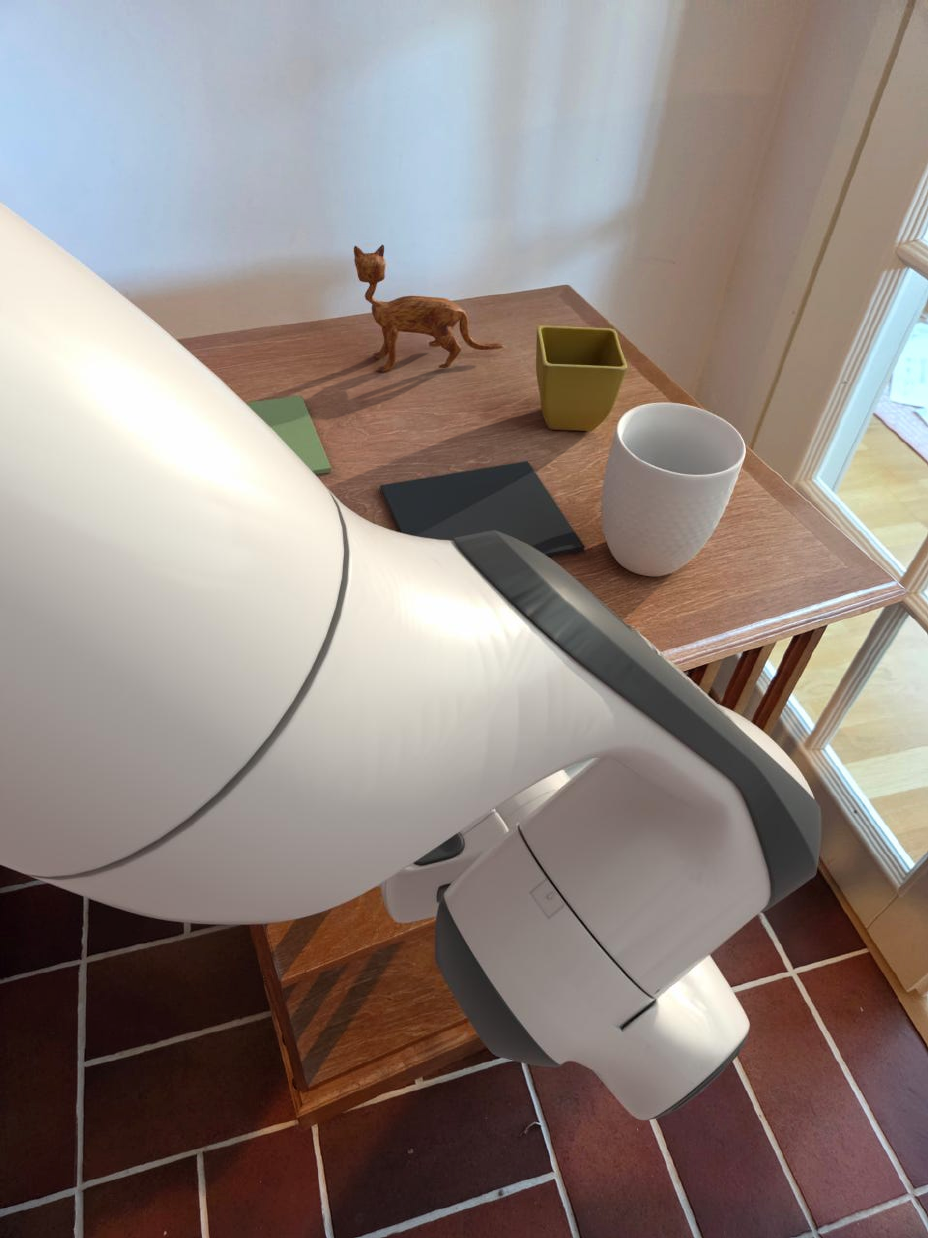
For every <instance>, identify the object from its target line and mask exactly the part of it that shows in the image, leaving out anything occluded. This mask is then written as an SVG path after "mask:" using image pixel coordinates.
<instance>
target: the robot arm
mask: <svg viewBox="0 0 928 1238" xmlns="http://www.w3.org/2000/svg"><path fill="white" fill-rule="evenodd" d="M246 403H247V402H245V401H244V400H243V399H242V398H241V397H240V396H239V395H238V394H237V393H235V392H234V391H233V390H232V389H231V388H230V387H229V386H228V384H226V383H225V382H224V380H223V379H221V378H220V377H219V376H218V375H216V374H215V373H214V372H213V371H212V370H211V369H210V368H209V367H207V366H206V365H205V364H204V363H203V362H201V360H200V359H198V358H197V357H196V356H195V355H194V354H192V353H191V352H190V351H189V350H188V349H187V348H186V347H185V346H183V344H181V343H180V342H179V341H178V340H177V339H176V338H175V337H173V336H172V335H171V334H170V333H169V332H167V331H166V330H165V328H163V327H162V326H161V325H159V324H158V323H157V322H156V321H155V320H153V318H151V317H150V316H149V315H147V314H146V313H145V312H144V311H143V310H142V309H140V308H139V307H137V306H136V305H135V304H134V303H133V302H131V301H130V300H129V299H128V298H127V297H125V296H124V295H122V293H120V292H119V291H118V290H117V289H115V288H114V287H113V286H111V285H110V284H109V283H108V282H107V281H106V280H104V279H103V278H102V277H100V276H99V275H98V274H97V273H96V272H94V271H93V270H92V269H90V267H88V266H87V265H86V264H84V263H83V261H81V260H80V259H78V258H77V257H75V256H74V255H73V254H71V253H70V252H68V251H67V250H66V249H65V248H63V247H62V246H61V245H60V244H58V243H57V242H55V241H54V240H52V239H51V238H50V237H49V236H47V235H46V234H44V232H42V231H41V230H39V229H38V228H36V227H35V226H34V225H32V224H31V223H30V222H28V221H27V220H25V218H23V217H22V216H20V215H19V214H18V213H16V212H15V211H14V210H12V209H11V208H9V207H8V206H7V205H5V204H4V203H2V201H0V866H3V867H6V868H7V869H11V870H13V871H16V872H18V873H21V874H24V875H26V876H28V877H31V878H34V879H35V880H38V881H41V882H44V883H46V884H50V885H52V886H55V887H57V888H59V889H63V890H66V891H68V892H70V893H73V894H76V895H79V896H81V897H84V898H86V899H89V900H92V901H95V902H97V903H101V904H102V905H106V906H110V907H112V908H115V909H118V910H121V911H124V912H128V913H131V914H135V915H139V916H142V917H147V918H151V919H157V920H162V921H168V922H178V923H184V924H195V925H196V924H199V925H224V926H225V925H226V926H227V925H228V926H229V925H231V926H233V925H235V926H236V925H237V926H238V925H239V926H240V925H267V924H275V923H282V922H290V921H294V920H299V919H302V918H306V917H310V916H314V915H316V914H320V913H323V912H325V911H328V910H331V909H334V908H336V907H339V906H341V905H343V904H346V903H348V902H350V901H352V900H354V899H357V898H358V897H361V896H362V895H364V894H366V893H367V892H369V891H371V890H373V889H374V888H380V893H381V897H382V898H381V899H382V901H383V904H384V907H385V909H386V911H387V913H388V915H389V916H390V918H391V919H392V920H393V921H394V922H396V923H398V924H409V923H414V922H418V921H423V920H427V919H431V918H435V926H434V962H435V964H436V967H437V969H438V971H439V973H440V975H441V976H442V978H443V980H444V982H445V983H446V985H447V987H448V989H449V990H450V992H451V993H452V995H453V998H454V999H455V1001H456V1002H457V1004H458V1006H459V1007H460V1009H461V1011H462V1012H463V1013H464V1015H465V1017H466V1018H467V1020H468V1022H469V1023H470V1025H471V1027H472V1028H473V1030H474V1031H475V1034H477V1036H478V1037H479V1039H480V1040H481V1041H482V1043H483V1045H485V1047H486V1048H487V1049H488V1050H489V1051H490V1052H491V1053H492V1055H494V1056H495V1057H497V1058H501V1059H505V1060H509V1061H512V1062H517V1063H521V1064H525V1065H531V1066H536V1067H537V1066H539V1067H547V1068H561V1067H562V1066H563V1065H564V1064H565V1063H567V1062H573V1063H577V1064H579V1065H582V1066H583V1067H585V1068H588V1069H589V1070H591V1071H592V1072H594V1074H595V1075H596V1077H598V1078H599V1080H600V1081H601V1082H602V1083H603V1084H604V1085H605V1087H606V1088H607V1089H608V1090H609V1091H610V1093H611V1094H612V1095H613V1096H614V1098H615V1099H616V1100H617V1101H618V1102H619V1103H620V1105H622V1107H623V1108H624V1109H625V1110H626V1112H628V1113H629V1114H630V1115H631V1116H632V1117H634V1118H635V1119H637V1120H640V1121H651V1120H659V1119H662V1118H664V1117H667V1116H668V1115H670V1114H672V1113H673V1112H674V1111H677V1110H679V1109H681V1108H682V1107H683V1106H685V1105H686V1104H687V1103H689V1102H691V1101H692V1100H693V1099H694V1098H695V1097H697V1096H698V1095H699V1094H700V1093H702V1092H703V1091H704V1090H705V1089H707V1088H708V1087H709V1086H710V1085H711V1084H712V1083H713V1082H714V1081H715V1080H716V1079H718V1077H720V1076H721V1075H722V1074H723V1072H725V1070H726V1069H727V1067H728V1065H729V1064H731V1063H732V1062H734V1060H735V1059H736V1058H737V1057H738V1055H739V1054H740V1052H741V1051H742V1050H743V1048H744V1046H745V1045H746V1041H747V1038H748V1035H749V1031H750V1027H751V1026H750V1025H751V1023H750V1021H749V1018H748V1016H747V1013H746V1012H745V1009H744V1008H743V1005H742V1004H741V1003H740V1001H739V999H738V998H737V996H736V994H735V992H734V991H733V989H732V987H731V986H730V984H729V982H728V981H727V979H726V977H725V976H724V975H723V973H722V972H721V970H720V968H719V967H718V966H717V964H716V963H715V961H714V959H713V958H712V956H711V954H712V953H714V952H716V950H717V949H718V948H720V947H721V946H722V945H723V944H725V942H726V941H728V940H729V939H731V937H733V936H734V935H735V934H736V933H738V931H739V930H741V929H743V927H744V926H746V925H747V924H748V923H750V921H752V920H753V919H754V918H755V917H756V916H758V915H759V913H765V912H767V911H768V910H770V909H771V908H772V907H774V906H775V905H777V904H778V903H780V902H781V901H782V900H784V899H785V898H787V897H788V896H789V895H791V894H792V893H794V892H795V891H797V890H798V889H799V888H801V887H803V885H805V884H806V883H808V882H809V881H810V880H812V879H813V878H815V877H816V876H817V871H818V866H819V862H820V861H819V860H820V852H821V842H822V812H821V811H822V810H821V806H820V805H819V803H818V802H817V800H815V796H814V794H813V791H812V790H811V788H810V785H809V783H808V781H807V780H806V778H805V777H804V774H803V773H802V772H801V771H800V769H799V768H798V766H797V765H796V764H795V762H794V760H793V759H791V757H790V756H789V755H788V754H787V753H786V752H785V750H783V748H781V747H780V745H779V744H778V743H777V742H776V741H775V740H773V739H772V737H770V736H769V735H768V734H767V733H765V732H764V731H763V730H762V729H761V728H759V727H758V726H757V725H755V724H754V723H753V722H752V721H750V720H749V719H747V718H745V717H744V716H742V715H741V714H739V713H737V712H736V711H733V710H732V709H730V708H728V707H725V706H723V705H721V704H718V703H717V702H716V701H715V700H714V699H713V698H712V697H710V695H708V694H707V693H706V692H705V691H704V690H702V688H701V687H700V686H699V685H698V684H697V683H695V682H694V681H693V680H692V679H691V678H690V677H689V676H687V675H686V674H685V673H684V671H683V670H681V669H680V668H679V667H678V666H677V665H676V664H675V663H674V662H673V661H672V660H671V659H670V658H668V657H667V656H665V654H664V653H663V652H662V651H660V649H658V647H656V646H655V645H654V644H652V642H651V641H650V640H648V639H647V637H645V636H643V635H642V633H640V631H639V630H637V629H635V628H634V627H633V626H632V625H630V624H627V623H626V622H625V621H624V620H623V619H622V618H621V617H619V615H617V613H615V612H614V611H613V610H612V609H611V608H610V607H609V606H607V605H606V603H604V602H603V601H602V600H600V599H599V598H598V596H596V595H595V594H594V593H592V592H591V591H590V589H588V588H587V587H585V585H583V584H582V583H581V582H580V581H579V580H577V578H575V577H574V576H573V575H571V573H570V572H568V571H567V570H566V569H565V568H564V567H563V566H562V565H560V564H559V563H557V562H556V561H555V560H553V559H552V558H551V557H548V556H546V555H545V554H543V553H541V552H540V551H538V550H536V549H535V548H533V547H532V546H530V545H528V544H526V543H524V542H522V541H520V540H518V539H516V538H514V537H511V536H509V535H506V534H504V533H501V532H498V531H496V530H493V531H487V532H482V533H477V534H472V535H467V536H461V537H456V538H454V541H452V540H438V539H430V538H423V537H417V536H412V535H407V534H403V533H400V532H399V531H395V530H392V529H390V528H386V527H383V526H381V525H378V524H376V523H373V522H371V521H369V520H367V519H366V518H364V517H362V516H361V515H360V514H358V513H356V512H354V511H353V510H352V509H350V508H348V507H347V506H346V505H345V504H344V503H343V502H341V501H340V499H338V498H337V497H336V495H335V494H334V493H333V492H332V491H331V490H330V489H329V488H328V486H327V485H325V484H324V483H323V482H322V480H321V479H320V478H319V477H318V475H315V474H314V473H313V472H312V471H311V470H310V469H309V468H308V466H307V465H306V464H305V463H304V462H303V461H302V460H301V459H300V458H299V457H298V456H297V455H296V454H295V453H294V452H293V451H292V449H291V448H290V447H289V446H288V445H287V444H286V443H285V442H284V441H283V440H282V439H281V438H280V437H279V436H278V435H277V434H276V432H275V431H274V430H273V429H272V428H271V427H269V426H268V425H267V424H266V423H265V422H264V421H263V420H262V419H261V418H260V417H259V416H258V415H257V414H256V413H255V412H254V411H253V410H252V409H251V408H250V407H249V406H248V405H247V404H246Z"/></svg>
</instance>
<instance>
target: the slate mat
mask: <svg viewBox="0 0 928 1238" xmlns="http://www.w3.org/2000/svg"><path fill="white" fill-rule="evenodd" d="M379 490H380V493H381V494H382V497H383V498H384V499H383V500H384V501H385V504H386V505H387V507H388V510H389V512H390V514H391V515H392V518H393V519H392V520H393V521H394V523H395V525H396V528H397V529H398V532H399V533H403V534H407V535H412V536H417V537H423V538H430V539H438V540H452V541H454V538H456V537H461V536H467V535H472V534H477V533H482V532H487V531H493V530H496V531H498V532H501V533H504V534H506V535H509V536H511V537H514V538H516V539H518V540H520V541H522V542H524V543H526V544H528V545H530V546H532V547H533V548H535V549H536V550H538V551H540V552H541V553H543V554H545V555H546V556H548V557H549V558H554V557H559V556H563V555H567V554H574V553H580V552H584V550H585V548H586V547H585V545H584V543H583V542H582V540H581V538H580V537H579V536H578V534H577V533H576V530H575V529H574V528H573V527H572V525H571V524H570V523H569V520H568V519H567V518H566V516H565V515H564V513H563V512H562V510H561V508H560V507H559V506H558V504H557V502H556V501H555V500H554V498H553V496H552V495H551V493H549V490H548V489H547V488H546V486H545V485H544V483H543V482H542V480H541V478H539V476H538V474H537V473H536V471H535V470H534V469H533V467H532V466H531V464H530V463H529V461H528V460H526V461H525V460H524V461H519V462H513V463H507V464H500V465H494V466H489V467H482V468H477V469H476V468H475V469H470V470H465V471H457V472H452V473H446V474H439V475H433V476H428V477H421V478H415V479H410V480H409V479H408V480H404V481H398V482H391V483H390V482H389V483H385V484H380V485H379Z"/></svg>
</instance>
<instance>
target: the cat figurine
mask: <svg viewBox="0 0 928 1238" xmlns="http://www.w3.org/2000/svg"><path fill="white" fill-rule="evenodd" d="M353 255H354V267H355V269H356V273H357V278H358V281H359V282H362V283H368V284H369V286H368V288H367V290H366V291H365V293H364V298H365V300H366V301H367V302H369V303H370V304H371V314H372V316H373V319H374V321H375V323H376V324H377V325H379V326H380V327H381V332H382V335H383V344H382V345H381V348H380V350H379V351H377V352H374V353H373V357H374V358H376V359H382V358H385V357H386V356H388V358H387V360H386V361H385V363H384V365H382V366H379V367H378V368H377V370H378V371H379V372H383V373H384V372H388V371H390V370H391V369H392V368H393V367H394V366H395V364H396V359H397V351H396V350H397V349H396V344H397V339H398V335H399V333H398V332H402V333H413V334H422V335H427V336H430V337H432V338H434V340H431V341H429V342H428V345H429V347H433V348H438V347H441V348H442V349H444V350H445V351H447V352H448V356H447V358H446V360H445V363H442V364H439V366H438V368H439V369H447V368H450V366H451V365H452V363H453V362H454V361H455V360H456V359H457V357H458V356H459V355H460V353H461V351H462V347H461V346H460V344H459V342H458V341H457V339H456V337H455V335H454V333H453V332H452V330H453V329H454V327H455V326H456V325H457V323H458V322H459V323H458V324H459V332H460V335H461V337H462V339H463V341H464V342H465V344H466V345H467V346H469V348H472V349H474V350H479V351H490V350H500V349H503V348H504V347H505V346H504V344H503V343H497V342H495V343H493V342H492V343H483V342H479V341H477V340H474V339H473V338H472V337H471V335H470V331H469V319H468V315H467V313H466V311H465V310H464V309H463V307H461V306H460V305H459V304H457V303H456V302H454V301H452V300H450V299H447V298H444V297H435V296H434V297H433V296H423V295H405V296H401V297H398V298H395V299H393V300H389V301H382V300H381V301H380V300H377V299H375V298H374V295H375V293H376V291H377V286H378V283H380V282H382V281H384V280H385V278H386V263H387V262H386V260H385V258H384V255H385V245H384V244H381V245H380V246H379V247H378V248H377V249H376V250H375V252H367V253H366V252H364V251H363V250H362V249H361V248H360V247H358V246H357V245H354V246H353Z"/></svg>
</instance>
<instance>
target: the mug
mask: <svg viewBox="0 0 928 1238" xmlns="http://www.w3.org/2000/svg"><path fill="white" fill-rule="evenodd" d="M746 449H747V448H746V444H745V441H744V439H743V437H742V435H741V433H740V432H739V431H738V430H737V429H736V428H735V426H733V425H732V424H731V423H729V422H728V421H726V419H724V418H722V417H720V416H718V415H716V414H714V413H712V412H710V411H708V410H706V409H702V408H699V407H696V406H693V405H689V404H683V403H677V402H651V403H645V404H642V405H638V406H635V407H633V408H631V409H629V410H627V411H626V412H624V413H623V415H622V416H621V417H620V418H619V419H618V420H617V423H616V425H615V429H614V434H613V437H612V442H611V446H610V449H609V452H608V456H607V457H608V458H607V461H606V465H605V471H604V475H603V483H602V489H601V490H602V491H601V493H602V495H601V509H600V512H601V524H602V532H603V534H604V538H605V542H606V544H607V547H608V549H609V551H610V554H611V555H612V557H613V558H614V559H615V561H616V562H617V563H618V564H619V565H620V566H621V567H623V568H625V569H626V570H628V571H630V572H631V573H634V574H637V575H641V576H646V577H663V576H667V575H670V574H672V573H674V572H677V571H678V570H681V569H682V568H683V567H684V566H685V565H687V564H689V563H690V561H692V560H694V558H695V557H696V556H697V554H699V553H700V552H701V551H702V549H703V547H705V545H706V544H707V543H708V541H709V539H710V538H711V537H712V536H713V534H714V531H715V530H716V528H717V526H718V525H719V524H720V521H721V518H722V517H723V515H724V513H725V511H726V507H727V506H728V505H729V502H730V498H731V495H732V494H733V492H734V489H735V486H736V483H737V481H738V479H739V474H740V472H741V469H742V467H743V464H744V461H745V458H746V453H747V450H746Z"/></svg>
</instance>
